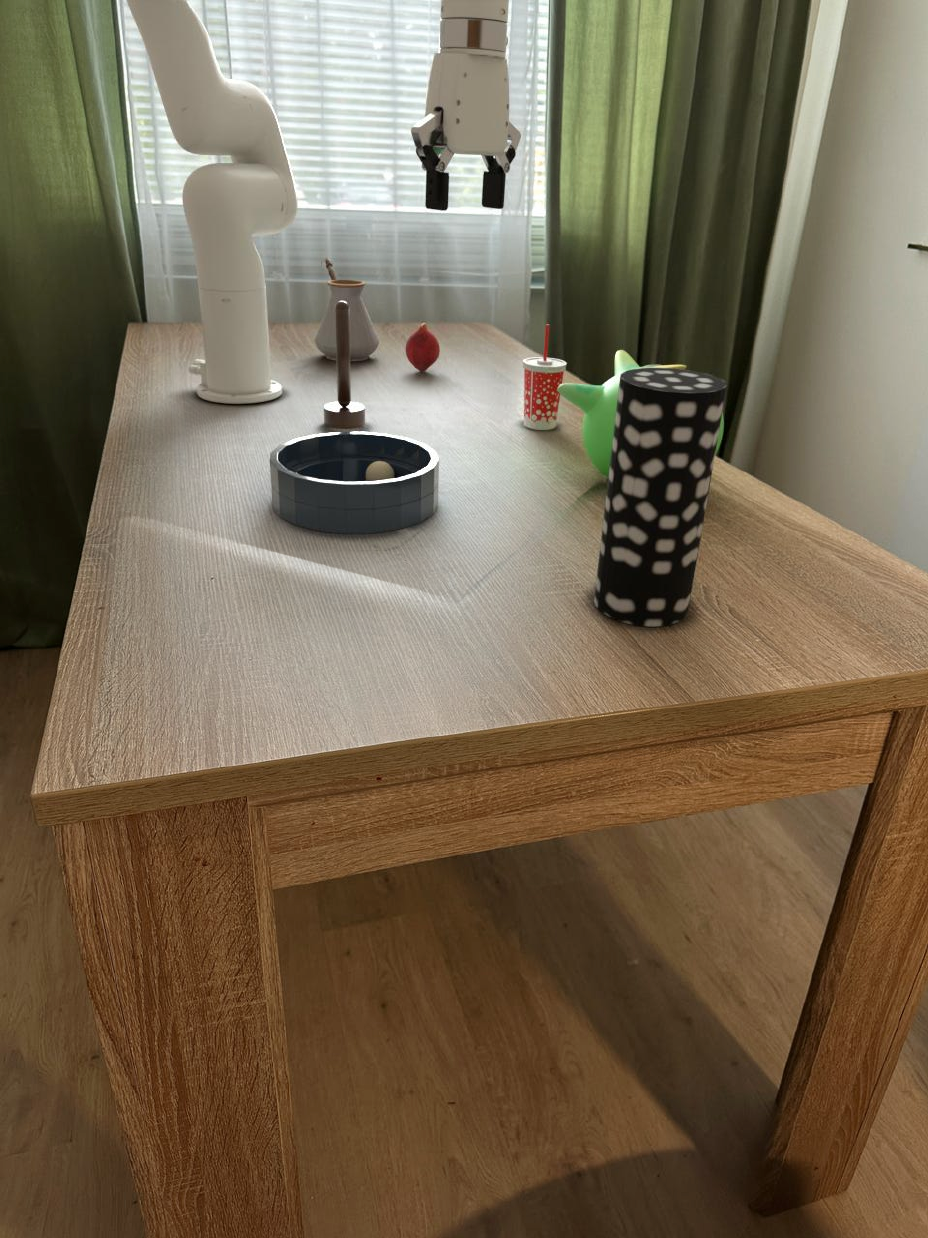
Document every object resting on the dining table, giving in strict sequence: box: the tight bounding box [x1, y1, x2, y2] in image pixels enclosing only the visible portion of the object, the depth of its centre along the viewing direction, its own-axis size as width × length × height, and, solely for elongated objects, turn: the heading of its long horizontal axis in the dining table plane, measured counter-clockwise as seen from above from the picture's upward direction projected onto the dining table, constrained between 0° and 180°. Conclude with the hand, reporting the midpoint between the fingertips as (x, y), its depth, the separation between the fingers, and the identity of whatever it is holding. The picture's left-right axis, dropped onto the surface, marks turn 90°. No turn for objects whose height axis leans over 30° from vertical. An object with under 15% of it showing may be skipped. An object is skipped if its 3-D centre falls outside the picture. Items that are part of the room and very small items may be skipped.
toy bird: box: [558, 349, 725, 479], centre depth 108 cm, size 18×17×15 cm
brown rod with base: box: [323, 301, 366, 430], centre depth 123 cm, size 6×6×17 cm
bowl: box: [269, 431, 440, 535], centre depth 99 cm, size 18×18×6 cm
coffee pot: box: [314, 258, 380, 362], centre depth 167 cm, size 21×12×15 cm, turn 20°
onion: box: [405, 322, 441, 373], centre depth 157 cm, size 6×6×8 cm
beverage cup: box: [522, 323, 568, 431], centre depth 129 cm, size 6×6×14 cm
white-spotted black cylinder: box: [593, 368, 728, 627], centre depth 77 cm, size 8×8×20 cm
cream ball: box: [366, 461, 394, 482], centre depth 103 cm, size 3×3×3 cm
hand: (465, 208), depth 111 cm, fingers open, 9 cm apart
